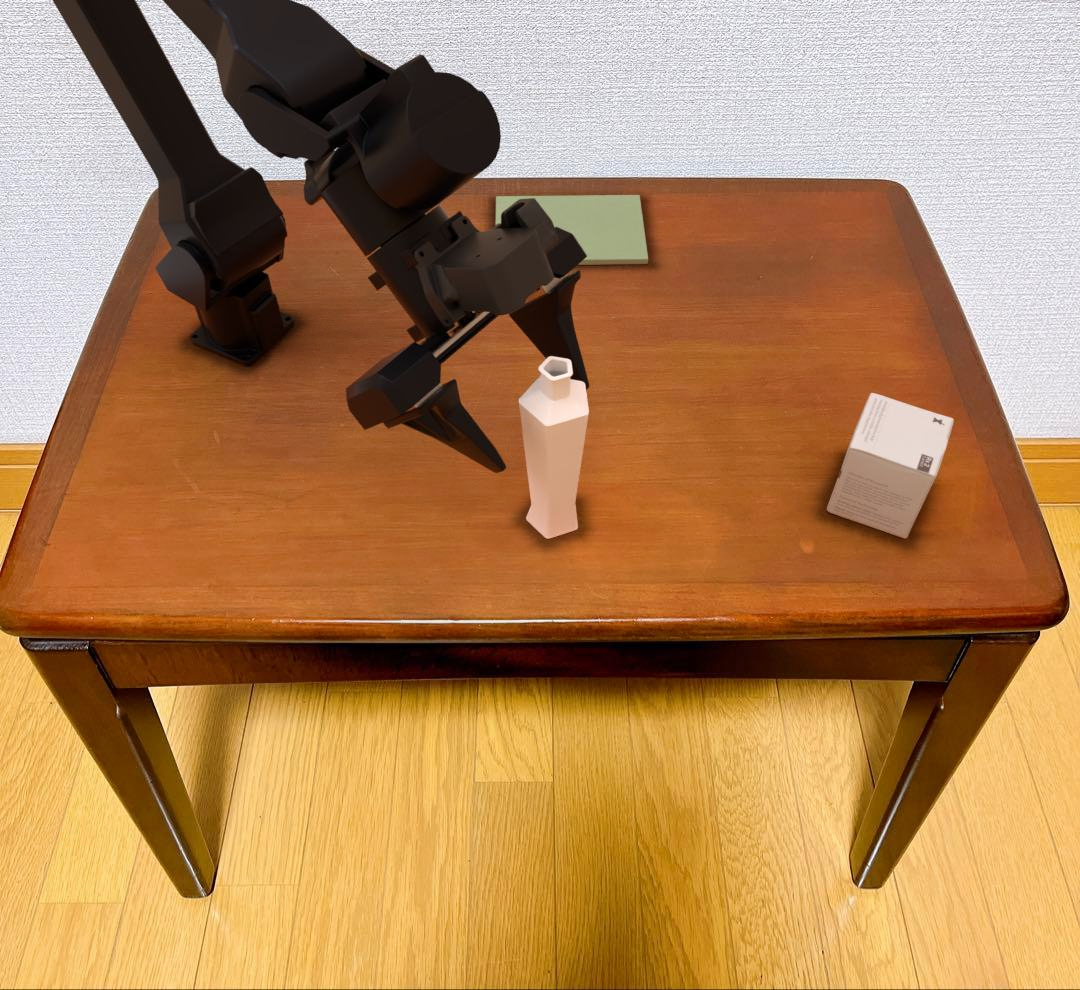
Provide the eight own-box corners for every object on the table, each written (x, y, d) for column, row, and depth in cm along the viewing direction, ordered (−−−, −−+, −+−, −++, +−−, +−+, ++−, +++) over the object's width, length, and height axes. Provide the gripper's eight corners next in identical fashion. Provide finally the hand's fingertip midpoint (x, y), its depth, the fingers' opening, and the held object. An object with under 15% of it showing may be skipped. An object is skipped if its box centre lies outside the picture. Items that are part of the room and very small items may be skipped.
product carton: (845, 457, 78) (869, 389, 72) (925, 483, 76) (956, 415, 70) (824, 513, 74) (848, 446, 69) (907, 542, 73) (938, 475, 67)
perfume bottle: (565, 552, 72) (570, 405, 60) (513, 526, 74) (508, 377, 62) (597, 509, 75) (608, 360, 63) (546, 485, 76) (548, 334, 64)
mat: (495, 265, 93) (494, 260, 92) (496, 201, 99) (496, 196, 98) (647, 264, 93) (648, 258, 92) (639, 199, 99) (639, 194, 99)
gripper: (351, 267, 52) (525, 502, 56) (566, 112, 61) (700, 323, 66) (276, 323, 61) (430, 521, 65) (473, 180, 71) (596, 362, 75)
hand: (544, 429), depth 68 cm, fingers open, 9 cm apart
